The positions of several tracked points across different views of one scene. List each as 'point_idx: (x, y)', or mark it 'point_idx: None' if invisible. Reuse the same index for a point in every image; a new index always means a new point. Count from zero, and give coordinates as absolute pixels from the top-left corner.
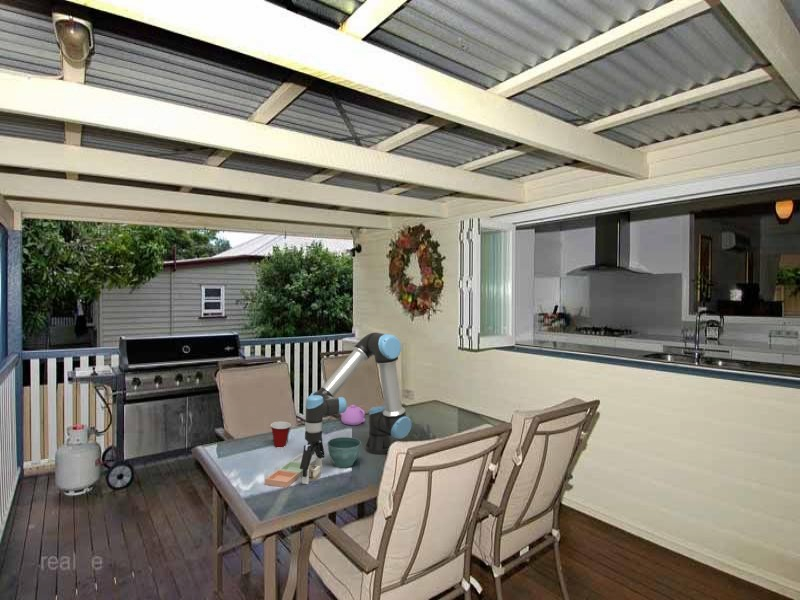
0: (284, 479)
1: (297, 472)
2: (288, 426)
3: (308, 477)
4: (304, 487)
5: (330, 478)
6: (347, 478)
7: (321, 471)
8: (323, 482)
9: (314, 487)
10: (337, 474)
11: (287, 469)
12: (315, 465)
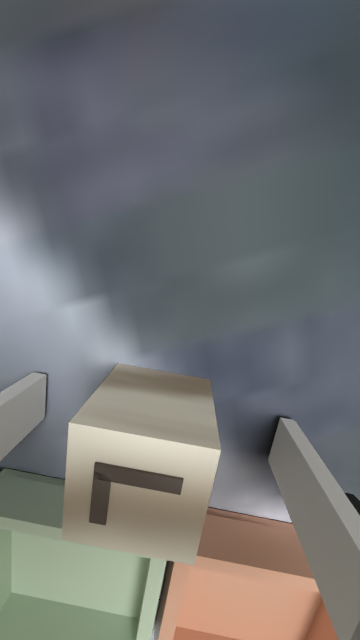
0: (229, 581)
1: (166, 560)
2: None
3: (310, 461)
4: (341, 428)
5: (131, 264)
6: (94, 82)
7: (30, 376)
8: (227, 305)
9: (339, 354)
10: (29, 221)
11: (62, 596)
12: (65, 481)
